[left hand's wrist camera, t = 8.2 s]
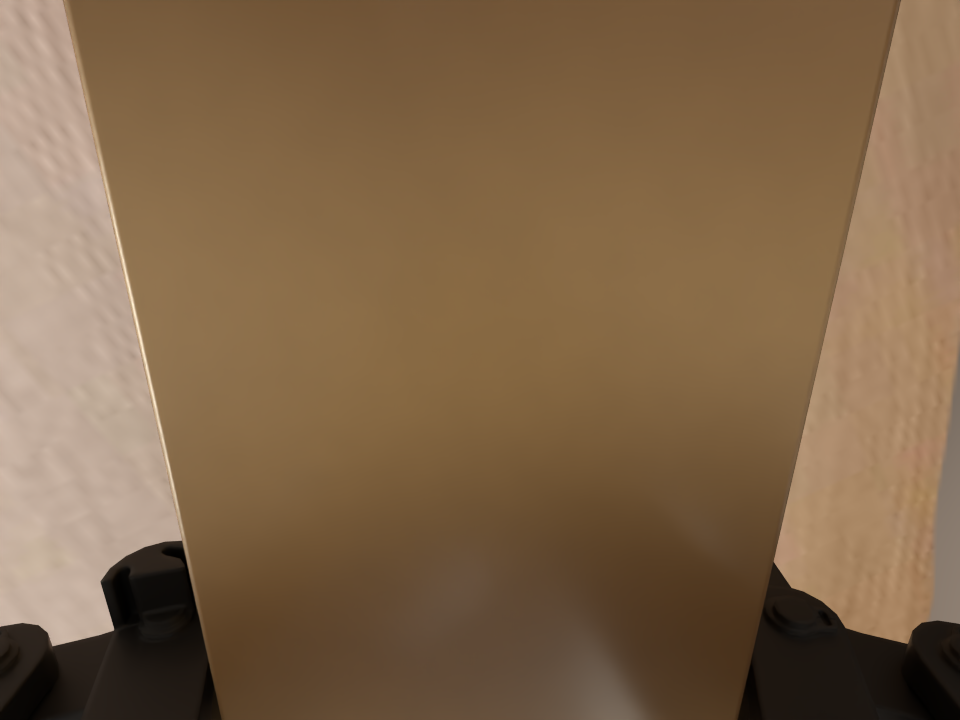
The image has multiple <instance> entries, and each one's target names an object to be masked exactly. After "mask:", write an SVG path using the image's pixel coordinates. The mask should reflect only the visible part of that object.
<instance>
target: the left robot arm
mask: <svg viewBox="0 0 960 720" xmlns="http://www.w3.org/2000/svg"><path fill="white" fill-rule="evenodd" d="M101 585H102V588H103V592H104V595H105V599H106V602H107V605H108V609H109V612H110V616H111V619H112V622H113V626H114V631H112V632H108V633H105V634H102V635H99V636H94V637H90V638H86V639H82V640H78V641H73V642H69V643H65V644H61V645H57V646H53V647H52V644H51V641H50V638H49V635H48V633H47V632H46V631H45V630H43V629H42V628H41V627H40V626H39V625H32V624H25V623H20V624H14V625H8V626H1V627H0V720H222V719H221V714H220V710H219V705H218V701H217V696H216V692H215V687H214V683H213V678H212V674H211V669H210V664H209V660H208V655H207V651H206V646H205V642H204V637H203V633H202V628H201V624H200V619H199V615H198V610H197V605H196V601H195V596H194V592H193V587H192V583H191V578H190V574H189V569H188V565H187V560H186V556H185V551H184V547H183V542H182V541H171V542H163V543H159V544H155V545H151V546H148V547H144V548H142V549H140V550H138V551H136V552H134V553H132V554H130V555H128V556H126V557H124V558H123V559H122V560H121V561H119V562H118V563H117V564H115V565H114V566H113V567H111V568H110V569H109V571H108V572H107V573H106V575H105V576H104V578H103V579H102V580H101ZM738 720H960V624H956V623H950V622H944V621H932V622H924V623H921V624H920V625H919V626H917V627H916V628H915V629H914V630H913V631H912V634H911V637H910V640H909V643H908V644H905V643H901V642H897V641H893V640H888V639H884V638H880V637H876V636H871V635H867V634H863V633H859V632H856V631H853V630H850V629H847V628H845V627H844V625H843V623H842V622H841V620H840V619H839V617H838V616H837V614H836V613H835V612H833V611H832V610H831V609H830V608H829V607H828V606H826V605H825V604H824V603H823V602H822V601H820V600H818V599H816V598H814V597H813V596H811V595H809V594H807V593H805V592H803V591H800V590H796V589H793V588H791V587H790V585H789V584H788V582H787V581H786V579H785V578H784V576H783V575H782V574H781V572H780V571H779V569H778V568H777V566H776V565H775V563H774V562H773V566H772V570H771V574H770V579H769V583H768V588H767V592H766V596H765V601H764V605H763V610H762V614H761V618H760V623H759V627H758V632H757V636H756V641H755V645H754V649H753V654H752V658H751V663H750V667H749V671H748V676H747V680H746V685H745V689H744V693H743V698H742V702H741V707H740V711H739V715H738Z"/></svg>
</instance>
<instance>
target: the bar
mask: <svg viewBox="0 0 960 720" xmlns="http://www.w3.org/2000/svg"><path fill="white" fill-rule="evenodd" d="M900 1H901V0H63V2H64V7H65V11H66V16H67V21H68V25H69V30H70V34H71V39H72V43H73V48H74V52H75V57H76V61H77V66H78V70H79V75H80V79H81V84H82V89H83V93H84V98H85V102H86V107H87V111H88V116H89V120H90V125H91V129H92V134H93V138H94V143H95V147H96V152H97V157H98V161H99V166H100V170H101V175H102V179H103V184H104V188H105V193H106V197H107V202H108V206H109V211H110V216H111V220H112V225H113V229H114V234H115V238H116V243H117V247H118V252H119V256H120V261H121V265H122V270H123V274H124V279H125V284H126V288H127V293H128V297H129V302H130V306H131V311H132V315H133V320H134V324H135V329H136V333H137V338H138V342H139V347H140V352H141V356H142V361H143V365H144V370H145V374H146V379H147V383H148V388H149V392H150V397H151V401H152V406H153V411H154V415H155V420H156V424H157V429H158V433H159V438H160V442H161V447H162V451H163V456H164V460H165V465H166V469H167V474H168V479H169V483H170V488H171V492H172V497H173V501H174V506H175V510H176V515H177V519H178V524H179V528H180V533H181V537H182V542H183V547H184V551H185V556H186V560H187V565H188V569H189V574H190V578H191V583H192V587H193V592H194V596H195V601H196V605H197V610H198V615H199V619H200V624H201V628H202V633H203V637H204V642H205V646H206V651H207V655H208V660H209V664H210V669H211V674H212V678H213V683H214V687H215V692H216V696H217V701H218V705H219V710H220V714H221V719H222V720H738V715H739V711H740V707H741V702H742V698H743V693H744V689H745V685H746V680H747V676H748V671H749V667H750V663H751V658H752V654H753V649H754V645H755V641H756V636H757V632H758V627H759V623H760V618H761V614H762V610H763V605H764V601H765V596H766V592H767V588H768V583H769V579H770V574H771V570H772V566H773V561H774V557H775V552H776V548H777V544H778V539H779V535H780V530H781V526H782V522H783V517H784V513H785V508H786V504H787V499H788V495H789V491H790V486H791V482H792V477H793V473H794V469H795V464H796V460H797V455H798V451H799V447H800V442H801V438H802V433H803V429H804V425H805V420H806V416H807V411H808V407H809V403H810V398H811V394H812V389H813V385H814V380H815V376H816V372H817V367H818V363H819V358H820V354H821V350H822V345H823V341H824V336H825V332H826V328H827V323H828V319H829V314H830V310H831V306H832V301H833V297H834V292H835V288H836V284H837V279H838V275H839V270H840V266H841V262H842V257H843V253H844V248H845V244H846V239H847V235H848V231H849V226H850V222H851V217H852V213H853V209H854V204H855V200H856V195H857V191H858V187H859V182H860V178H861V173H862V169H863V165H864V160H865V156H866V151H867V147H868V143H869V138H870V134H871V129H872V125H873V120H874V116H875V112H876V107H877V103H878V98H879V94H880V90H881V85H882V81H883V76H884V72H885V68H886V63H887V59H888V54H889V50H890V46H891V41H892V37H893V32H894V28H895V24H896V19H897V15H898V10H899V6H900Z"/></svg>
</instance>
